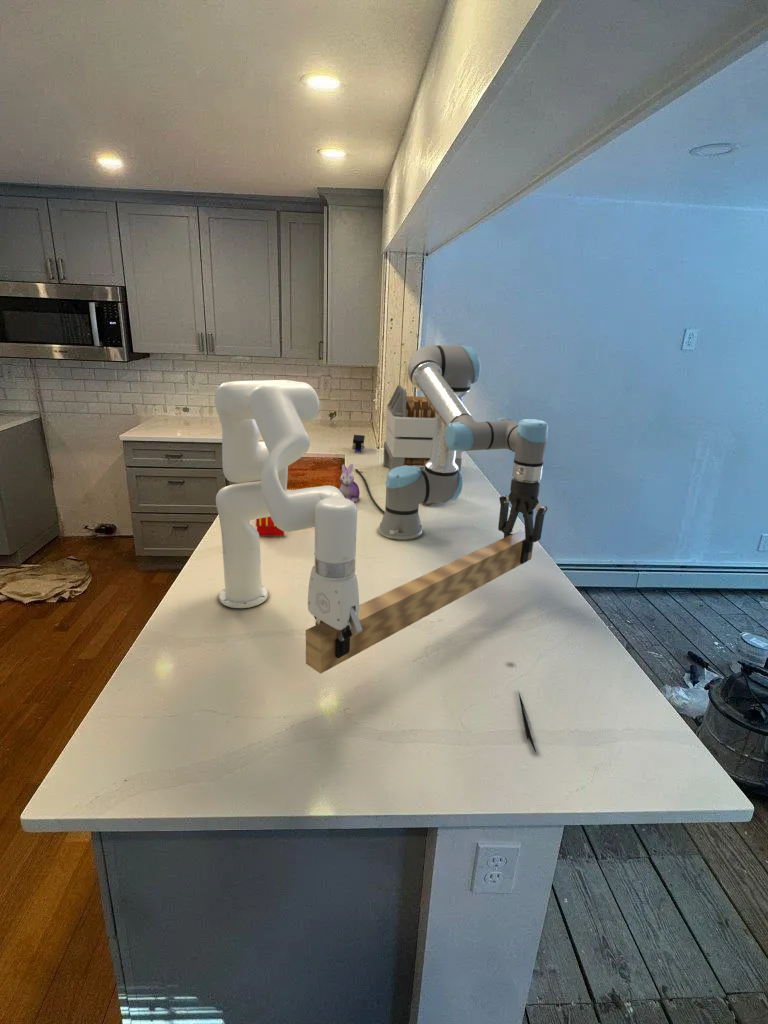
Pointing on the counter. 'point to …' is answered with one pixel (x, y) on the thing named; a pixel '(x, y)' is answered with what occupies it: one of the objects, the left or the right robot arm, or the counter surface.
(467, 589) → the post
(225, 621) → the counter surface
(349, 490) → the figurine
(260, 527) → the toy
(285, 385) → the left robot arm
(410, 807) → the counter surface
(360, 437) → the figurine character
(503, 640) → the counter surface
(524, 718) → the feather
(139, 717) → the counter surface
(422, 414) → the white storage crate
